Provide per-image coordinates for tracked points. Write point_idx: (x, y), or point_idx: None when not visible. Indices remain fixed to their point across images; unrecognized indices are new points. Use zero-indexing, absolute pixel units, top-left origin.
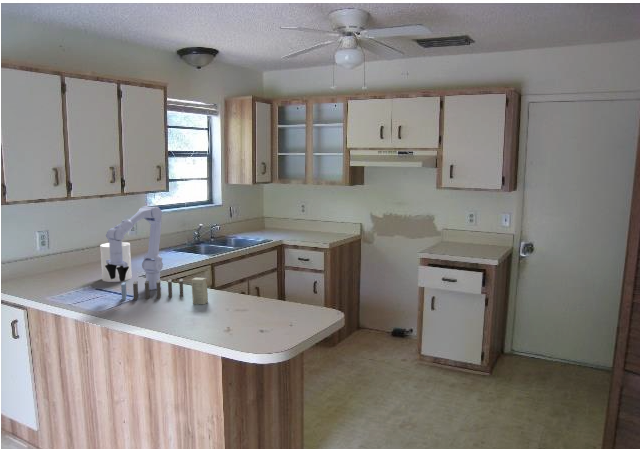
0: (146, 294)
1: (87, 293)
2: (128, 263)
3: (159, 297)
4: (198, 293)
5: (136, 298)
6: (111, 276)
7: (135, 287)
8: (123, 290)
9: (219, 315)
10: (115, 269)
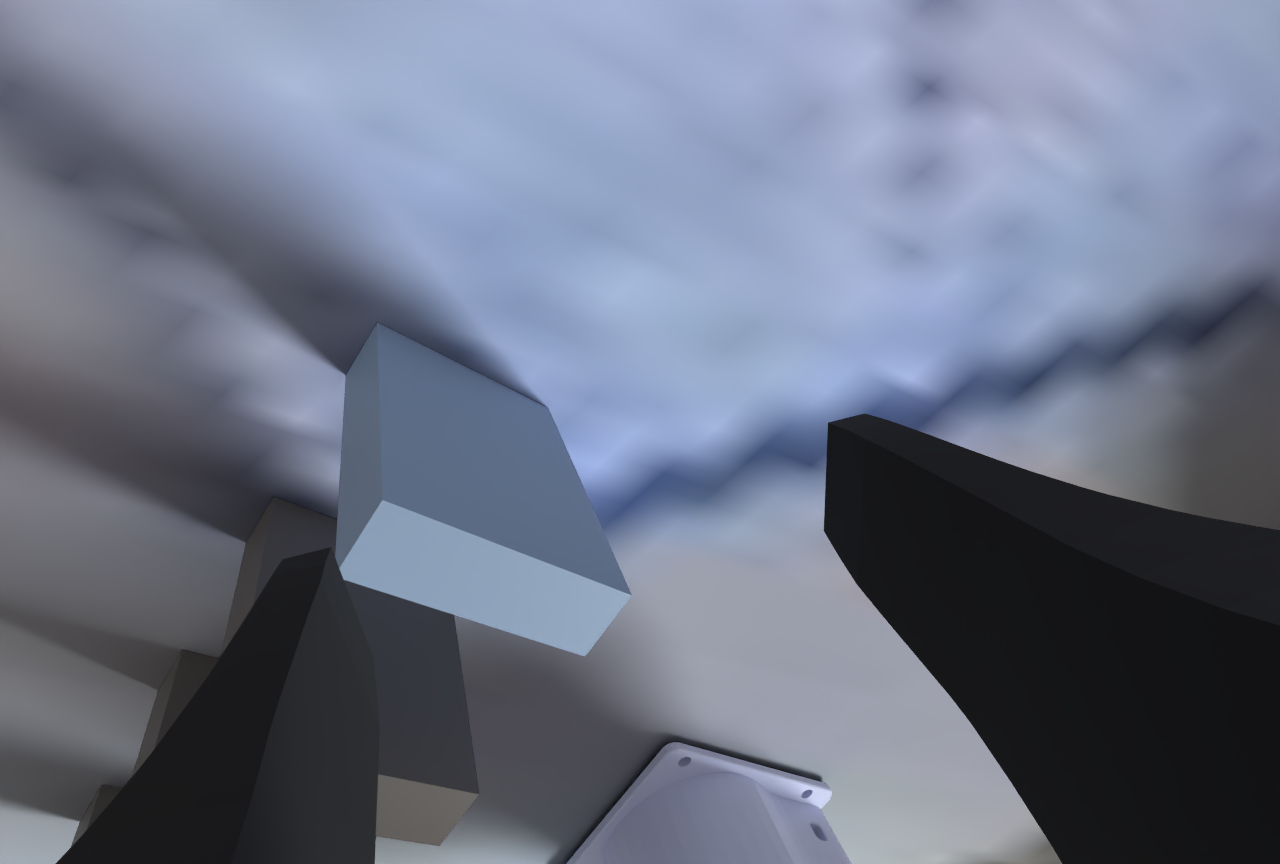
0: (153, 727)
1: (1243, 78)
2: None
3: (83, 820)
4: None
5: (248, 545)
6: (879, 473)
7: None
8: (359, 453)
9: None
10: (1020, 781)
